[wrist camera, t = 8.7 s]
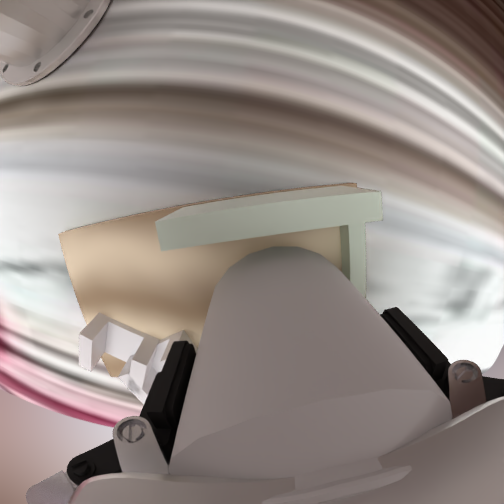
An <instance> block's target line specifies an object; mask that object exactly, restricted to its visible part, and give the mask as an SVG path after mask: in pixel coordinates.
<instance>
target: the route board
mask: <svg viewBox="0 0 504 504" xmlns="http://www.w3.org/2000/svg"><path fill="white" fill-rule="evenodd" d="M332 186H348V187H355V188H357V183H343V184H332V185H322V186H312V187H303V188H294V189H286V190H278V191H270V192H262V193H255V194H248V195H241V196H234V197H228V198H222V199H215V200H209V201H203V202H197V203H192V204H186V205H181V206H175V207H170V208H165V209H160V210H155V211H150V212H145V213H140V214H135V215H131V216H126V217H122V218H117V219H113V220H108V221H104V222H100V223H96V224H92V225H88V226H83V227H80V228H76V229H72V230H68V231H65V232H62V233H60V234H59V239H60V243H61V247H62V251H63V255H64V258H65V262H66V266H67V269H68V272H69V276H70V279H71V282H72V285H73V288H74V291H75V294H76V297H77V300H78V303H79V306H80V308H81V311H82V314H83V316H84V319H85V321H86V324H87V325H88V324H89V323H90V322H91V321H92V320H93V319H94V317H95V316H96V315H97V314H98V313H99V312H100V313H102V314H104V315H106V316H108V317H110V318H112V319H114V320H116V321H118V322H121V323H123V324H125V325H127V326H129V327H132V328H134V329H136V330H139V331H141V332H143V333H146V334H148V335H150V336H153V337H155V338H158V339H160V340H161V339H164V338H166V337H168V336H170V335H173V334H175V333H177V332H179V331H182V330H184V331H185V333H186V334H187V335H188V337H189V338H190V339H191V341H192V342H193V343H194V345H195V346H196V347H197V349H198V346H199V342H200V338H201V335H202V331H203V327H204V324H205V320H206V316H207V313H208V309H209V305H210V302H211V299H212V295H213V292H214V289H215V286H216V285H217V283H218V282H219V281H220V279H221V278H222V276H223V275H224V274H225V272H226V271H227V270H228V268H229V267H231V266H232V265H234V264H235V263H237V262H238V261H239V260H241V259H242V258H244V257H245V256H247V255H248V254H250V253H254V252H257V251H260V250H263V249H266V248H270V247H273V246H298V247H301V248H304V249H307V250H310V251H313V252H316V253H319V254H321V255H322V256H323V257H325V258H326V259H327V260H328V261H330V262H331V263H332V264H334V265H335V266H336V267H337V268H338V269H339V270H340V271H341V272H342V256H341V237H340V226H335V227H328V228H320V229H313V230H305V231H298V232H290V233H283V234H276V235H269V236H262V237H255V238H248V239H241V240H234V241H227V242H220V243H213V244H207V245H200V246H193V247H187V248H180V249H174V250H167V251H161V249H160V244H159V239H158V235H157V230H156V225H155V221H157V220H159V219H161V218H163V217H165V216H167V215H169V214H171V213H173V212H175V211H177V210H179V209H181V208H183V207H186V206H192V205H198V204H204V203H210V202H216V201H222V200H228V199H235V198H242V197H248V196H255V195H263V194H270V193H278V192H286V191H294V190H303V189H312V188H322V187H332ZM101 358H102V360H103V362H104V364H105V366H106V368H107V370H108V372H109V374H110V376H111V377H118V376H119V374H120V373H121V371H122V369H123V367H124V366H125V364H126V362H125V361H123V360H120V359H118V358H116V357H114V356H112V355H110V354H108V353H106V352H104V354H103V355H102V357H101Z"/></svg>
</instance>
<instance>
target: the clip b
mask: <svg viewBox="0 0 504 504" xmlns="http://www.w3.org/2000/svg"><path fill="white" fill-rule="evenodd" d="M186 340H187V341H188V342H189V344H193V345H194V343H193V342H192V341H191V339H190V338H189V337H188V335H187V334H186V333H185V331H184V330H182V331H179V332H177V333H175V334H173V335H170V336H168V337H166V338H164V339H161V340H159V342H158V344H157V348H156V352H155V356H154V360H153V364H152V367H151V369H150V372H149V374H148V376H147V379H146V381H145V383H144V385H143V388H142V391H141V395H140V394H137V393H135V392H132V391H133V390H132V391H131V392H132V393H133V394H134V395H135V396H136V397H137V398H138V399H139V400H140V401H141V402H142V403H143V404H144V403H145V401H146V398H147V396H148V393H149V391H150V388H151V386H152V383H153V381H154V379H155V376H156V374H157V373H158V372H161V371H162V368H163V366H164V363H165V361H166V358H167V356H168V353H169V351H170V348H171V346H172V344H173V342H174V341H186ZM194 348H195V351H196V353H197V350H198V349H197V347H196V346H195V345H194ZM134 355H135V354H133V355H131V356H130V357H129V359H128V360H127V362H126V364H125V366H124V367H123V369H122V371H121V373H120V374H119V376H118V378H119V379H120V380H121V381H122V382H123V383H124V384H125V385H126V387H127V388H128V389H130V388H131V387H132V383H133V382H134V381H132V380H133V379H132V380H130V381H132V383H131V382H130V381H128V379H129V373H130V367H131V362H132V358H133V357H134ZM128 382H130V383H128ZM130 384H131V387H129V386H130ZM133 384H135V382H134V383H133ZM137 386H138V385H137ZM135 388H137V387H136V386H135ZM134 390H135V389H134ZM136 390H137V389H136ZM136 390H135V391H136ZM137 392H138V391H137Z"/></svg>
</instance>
